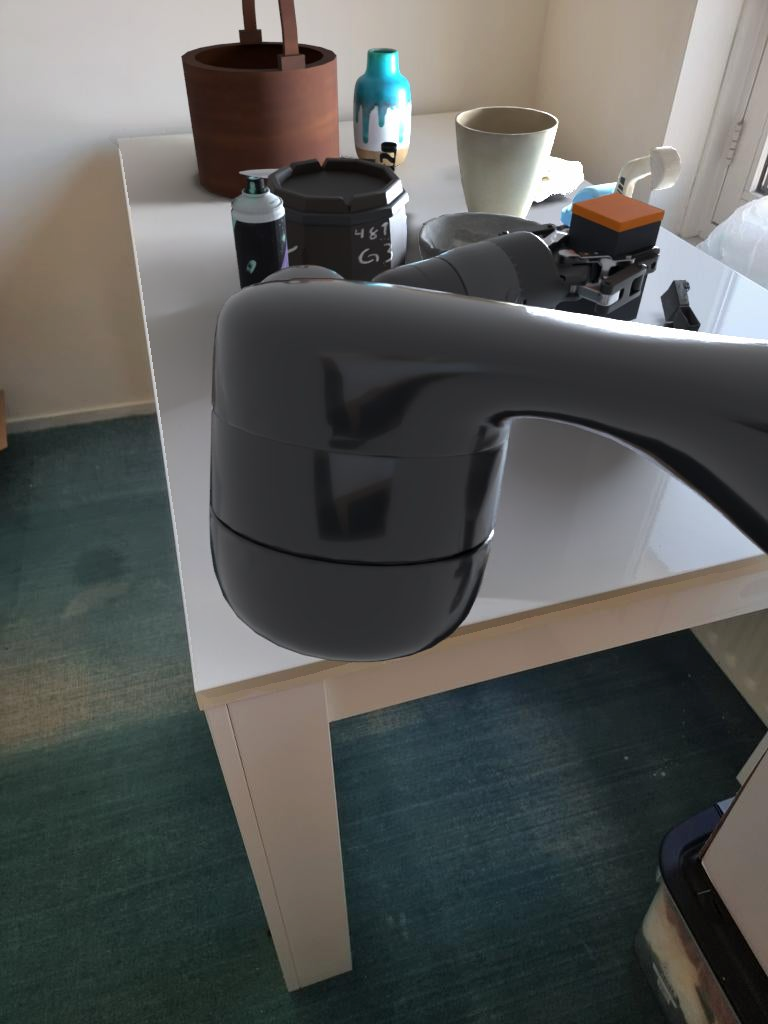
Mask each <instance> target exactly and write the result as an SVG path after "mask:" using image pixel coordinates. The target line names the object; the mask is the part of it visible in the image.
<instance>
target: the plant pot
mask: <svg viewBox="0 0 768 1024" xmlns="http://www.w3.org/2000/svg"><path fill="white" fill-rule="evenodd" d="M454 120H455V121H454V123H455V125H454V126H455V138H456V150H457V160H458V167H459V175H460V180H461V186H462V191H463V195H464V200H465V204H466V208H467V212H479V213H495V214H505V215H511V216H515V217H520V218H523V219H526V216H527V215H528V212H529V210H530V208H531V206H532V204H533V202H534V201H533V199H534V197H535V194H536V192H537V189H538V187H539V184H540V182H541V179H542V176H543V173H544V170H545V167H546V164H547V161H548V158H549V156H551V151H552V148H553V145H554V140H555V137H556V133H557V129H558V125H559V120H558V118H557V117H556V116H554V115H552V114H551V113H548V112H545V111H543V110H542V111H541V110H539V109H534V108H526V107H519V106H484V107H476V108H470V109H467V110H464V111H461V112H460V113H458V114H457V115H456V116H455V119H454Z"/></svg>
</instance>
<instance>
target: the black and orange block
mask: <svg viewBox="0 0 768 1024" xmlns="http://www.w3.org/2000/svg"><path fill="white" fill-rule="evenodd" d="M665 213H666V210H664V209H662V208H659V207H656V206H654V205H651V204H648V203H646V202H643V201H641V200H638V199H636V198H633V197H632V198H630V197H627V196H625V195H622V194H620V193H613V194H609V195H605V196H601V197H597V198H593V199H589V200H585V201H581V202H577V203H573V207H572V217H571V222H570V228H569V234H568V236H570V240H569V242H568V243H567V247H569V248H571V249H573V250H575V251H576V252H582V251H596V250H604V251H605V252H606V253H607V254H608V255H612V256H616V255H621V254H626V253H629V252H632V251H635V250H639V249H642V248H645V247H648V246H651V245H653V246H655V247H656V244H657V240H658V238H659V237H658V236H659V233H660V229H661V226H662V221H663V219H664V216H665ZM595 265H596V262H595V263H592V272H591V277H590V281H589V282H591V281H592V279H593V274H594V270H595ZM617 269H618V266H613V267H611V268H610V269H609V274H608V276H611V275H613V274H615V273H617ZM648 275H649V274H647V275H644V278H643V282H642V286H641V292H640V295H639V296H637V297H636V298H634V299H632V300H631V301H629V302H627V303H626V304H624V305H622V306H620V307H619V308H617V309H615V310H614V311H612V312H610V313H609V314H598V313H596V312H595V306H596V302H593V301H591V300H588V299H585V298H583V297H582V298H581V299H579V300H577V301H565V302H560V303H559V304H557V305H556V306H555V307H554V310H559V311H565V312H571V313H577V314H583V315H590V316H596V317H602V318H608V319H615V320H621V321H627V322H632V321H633V320H637V318H638V313H639V309H640V306H641V303H642V299H643V294H644V292H645V291H644V290H645V287H646V283H647V280H648V279H647V278H648Z"/></svg>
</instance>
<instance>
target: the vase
mask: <svg viewBox="0 0 768 1024" xmlns="http://www.w3.org/2000/svg"><path fill="white" fill-rule="evenodd" d="M399 66H400V65H399V51H398V50H397V49H395V48H389V47H375V48H374V47H373V48H370V49H368V50H367V53H366V68H365V71H364V73H363V74H362V75H360V76H359V77H358V78H357V79H356V81H355V83H354V87H353V88H354V90H353V98H352V99H353V100H352V111H353V112H352V123H353V124H352V125H353V126H352V127H353V142H354V149H355V150H354V151H355V153H356V156H357V159H376V162H375V163H378V164H382V165H383V164H385V165H386V166H393V163H391V162H389V161H388V160H387V159H383V163H381V162H380V154H381V153H385V152H382V151H381V144H382V143H383V142H395V143H396V144H397V151H396V162H395V166H396V167H395V168H397V167H398V166H400V165H401V164H402V163H403V162H404V161H405V160H406V158H407V155H408V153H409V148H410V141H411V131H412V92H411V84H410V82H409V80H408V79H407V78H406V77H405V76H404V75H402V73H401V72H400V71H401V70H400V68H399ZM388 154H389V155H390V156H391V157H393V158H394V153H388ZM399 164H400V165H399ZM397 165H398V166H397Z"/></svg>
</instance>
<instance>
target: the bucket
mask: <svg viewBox="0 0 768 1024" xmlns="http://www.w3.org/2000/svg"><path fill="white" fill-rule="evenodd" d="M277 4H278V12H279V20H280V28H281V41H263V34H262V33H263V32H262V28H258V25H257V14H256V0H241V10H242V11H241V12H242V20H243V29H238V36H239V37H238V38H239V41H238V42H228V43H218V44H211V45H206V46H201V47H197V48H195V49H191V50H188V51H186V52H185V53H184V54H182V55H181V64H182V72H183V77H184V84H185V85H184V86H185V92H186V98H187V103H188V104H187V105H188V111H189V119H190V124H191V132H192V136H193V137H192V138H193V145H194V153H195V158H196V159H195V160H196V164H197V166H196V167H197V170H198V171H197V172H198V178H199V183H200V185H201V186H202V187H203V188H204V189H206V190H207V191H208V192H211V193H214V194H217V195H220V196H223V197H226V198H233V199H235V198H237V197H238V196H240V195H241V194H242V190H243V189H244V188H245V186H246V185H247V183H246V177H248V175H244V174H240V173H239V172H241V171H248V170H259V169H280V168H281V167H283V166H288V167H290V165H291V163H293V162H299V161H305V160H310V159H317V160H318V161H319V163H320V165H321V166H322V164H323V163H324V161H325V159H326V158H341V157H340V125H339V91H338V89H339V88H338V85H339V84H338V55H337V54H336V53H335V52H334V51H333V50H331V49H328V48H326V47H323V46H319V45H318V46H317V45H313V44H307V43H299V39H298V38H299V37H298V35H299V34H298V26H297V25H298V24H297V17H296V16H297V15H296V8H295V7H296V6H295V0H277ZM251 177H254V176H251ZM257 178H260V177H257ZM263 180H264V185H266V186H267V182H268V178H263Z"/></svg>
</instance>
